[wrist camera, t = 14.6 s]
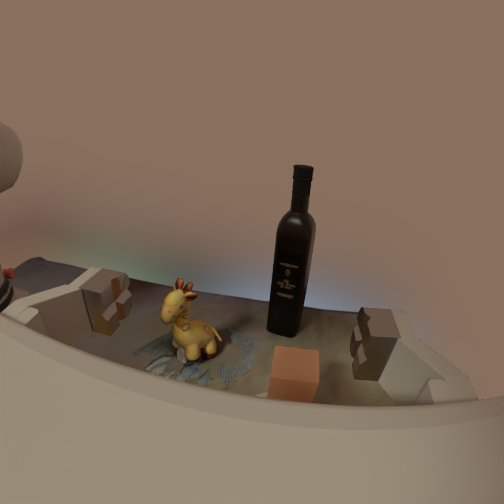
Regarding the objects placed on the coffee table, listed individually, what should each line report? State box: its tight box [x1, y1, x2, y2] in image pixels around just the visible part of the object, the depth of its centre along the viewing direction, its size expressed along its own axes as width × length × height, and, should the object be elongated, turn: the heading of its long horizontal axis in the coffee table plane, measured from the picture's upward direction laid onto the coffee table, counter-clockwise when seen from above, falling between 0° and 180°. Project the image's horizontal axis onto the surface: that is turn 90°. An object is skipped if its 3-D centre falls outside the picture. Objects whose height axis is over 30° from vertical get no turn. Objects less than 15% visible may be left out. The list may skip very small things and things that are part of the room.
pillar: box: [267, 346, 319, 403], centre depth 29 cm, size 4×4×10 cm
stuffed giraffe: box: [132, 278, 260, 389], centre depth 44 cm, size 16×18×16 cm
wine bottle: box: [266, 165, 316, 337], centre depth 49 cm, size 6×6×30 cm
